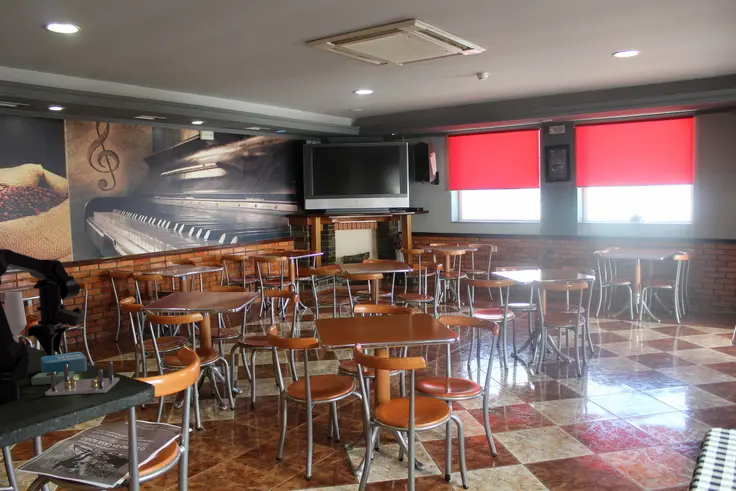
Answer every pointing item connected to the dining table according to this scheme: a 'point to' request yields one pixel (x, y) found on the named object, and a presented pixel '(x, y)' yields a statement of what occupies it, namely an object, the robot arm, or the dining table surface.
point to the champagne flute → (15, 312)
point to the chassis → (82, 383)
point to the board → (49, 378)
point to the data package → (64, 362)
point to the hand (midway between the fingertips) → (53, 353)
